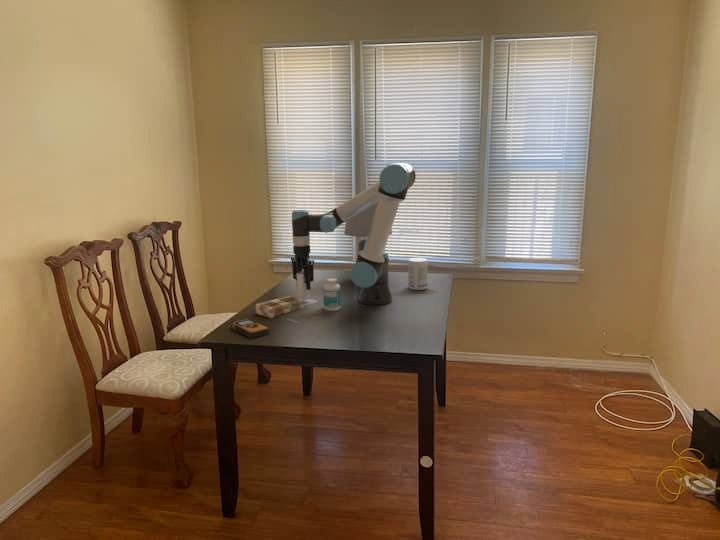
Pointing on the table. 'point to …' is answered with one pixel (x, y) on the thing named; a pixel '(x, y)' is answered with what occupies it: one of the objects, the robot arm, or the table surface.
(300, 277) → the plug
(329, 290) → the pill bottle
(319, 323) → the table surface
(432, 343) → the table surface
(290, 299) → the socket block
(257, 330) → the electronic device
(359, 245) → the lamp
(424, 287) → the supplement tub
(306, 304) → the mat
